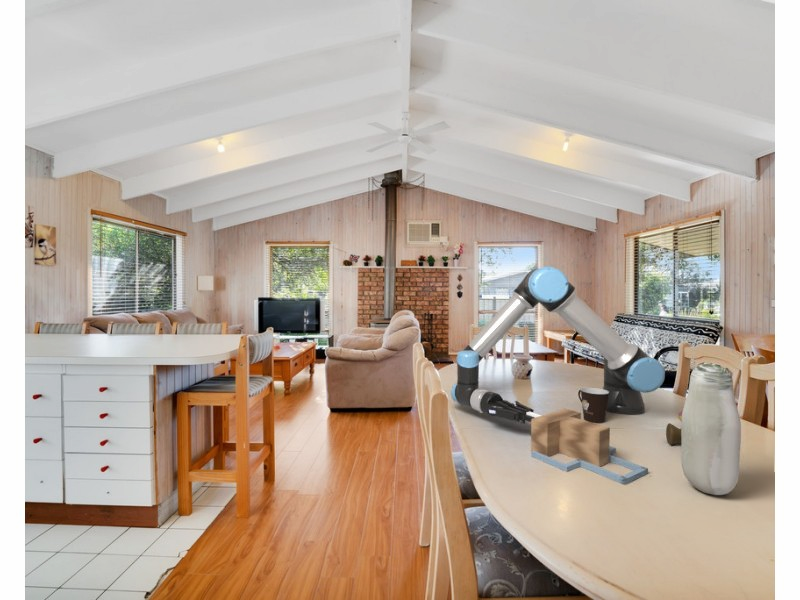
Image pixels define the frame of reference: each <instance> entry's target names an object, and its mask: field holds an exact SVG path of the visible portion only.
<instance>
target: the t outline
mask: <svg viewBox="0 0 800 600" xmlns="http://www.w3.org/2000/svg"><path fill="white" fill-rule="evenodd" d="M530 452H531V451H530ZM616 453H617V448H616V447H613V446H611V445H609V462H611V463H614V464H616V465H618V466H622V467H624V468H627V469H629V470H631V472H628V473H626V474H623V475H620V474H618V473H616V472H613V471H610V470H608V469H605V468H603V467H602V466H601V467H598V466H596V465H593V464H591V463H588V462H586V461H583V460H581V459H575V460H573V461H569V462H567V463H564V462H562V461H559V460H557V459H555V458H552V457H551V456H550V457H548V456H546V455H543V454H541V453H538V452H536V451H532V452H531V453H530V454H531V457H532V458H534V459H537V460H540V462H541V461H542V462H543V463H546V464H548V465H550V466H553V467H555V468H557V469H559V470H562V471H564V472H565V473H567V472H569V471H572V470H575V469H577V468H580V467H581V468H583V469H585V470H588V471H590V472H593V473H596V474H598V475H600V476H602V477H605V478H608V479H609V480H610V479H611V480H612V481H614V482H617V483H619V484H622V485H626V484H629V483H631V482H634V481H635V480H637V479H639V478H641V477H644V476H646V475H647V474H649V468H648V467H645V466H642V465H639V464H638V463H637V464H636V463H634V462H631V461H628V460H626V459H622V458H620V457H617V456H615V455H614V454H616ZM632 470H633V471H632Z"/></svg>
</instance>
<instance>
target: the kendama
mask: <svg viewBox="0 0 800 600" xmlns="http://www.w3.org/2000/svg"><path fill="white" fill-rule="evenodd" d="M665 436H666V437H665V438H666V442H667V444H668V446H672V445H677V444H680V443H682V436H681V428H679V427H677V426H675V425H674V424H673V423H671V422H669V423H668V424H667V425H666V429H665Z"/></svg>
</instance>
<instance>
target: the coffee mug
mask: <svg viewBox="0 0 800 600" xmlns="http://www.w3.org/2000/svg"><path fill="white" fill-rule="evenodd" d="M577 396H578V399H579V400H580V403H581V404H582V414H583V420H584V421H588V422H591V423H595V424H604V423H605V422H606V415H607V403H608V396H609V391H607V390H604V389H603V388H599V387H583V388H580V389H579V391H578V393H577Z"/></svg>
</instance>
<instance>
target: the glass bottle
mask: <svg viewBox="0 0 800 600" xmlns="http://www.w3.org/2000/svg"><path fill="white" fill-rule="evenodd" d="M682 410H683V412H682V422H681V427H680V429H681V436H682V442H681V451H680V452H681V454H680V455H681V456H680V457H681V458H680V459H681V461H680V462H681V469H682V472H683V475H684V476H685V478H686V480H687V481H688V483H690V484H691V485H692V486H693V487H694V488H695V489H697V490H698V491H700V492H702V493H705V494H708V495H714V496H723V495H727V494H729V493H730V492H732V491H733V490H734V489H735V487H736V485H737V483H738V480H739V476H740V462H741V461H740V459H741V458H740V457H741V444H742V441H741V440H742V424H741V418H740V413H739V410H738V406H737V403H736V398H735V390H734V379H733V377H732V375H731V373H730V371H729V370H728V369H726V368H724V367H722V366H720V365H716V364H712V363H702V364H699V365H697V366H696V367H694V369H692V371H691V373H690V377H689V386H688V392H687V395H686V399H685V402H684V405H683V409H682Z"/></svg>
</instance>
